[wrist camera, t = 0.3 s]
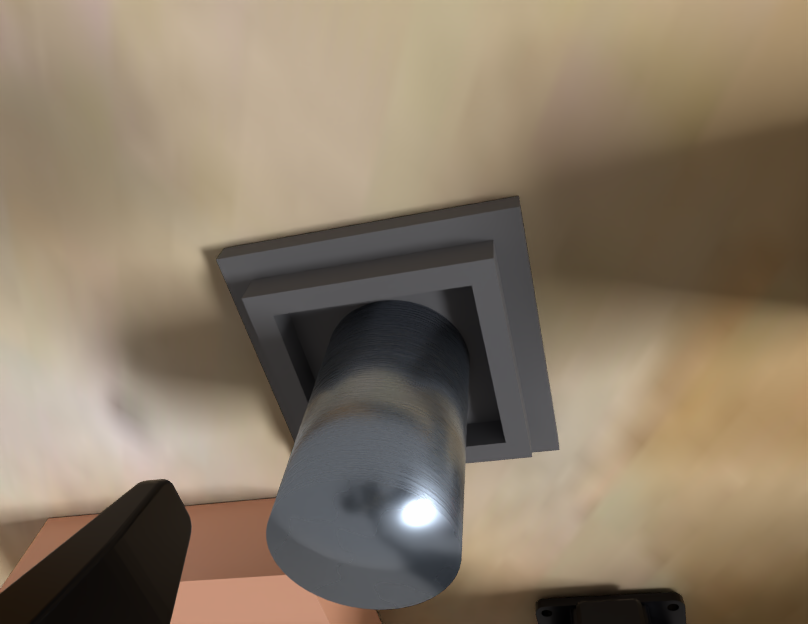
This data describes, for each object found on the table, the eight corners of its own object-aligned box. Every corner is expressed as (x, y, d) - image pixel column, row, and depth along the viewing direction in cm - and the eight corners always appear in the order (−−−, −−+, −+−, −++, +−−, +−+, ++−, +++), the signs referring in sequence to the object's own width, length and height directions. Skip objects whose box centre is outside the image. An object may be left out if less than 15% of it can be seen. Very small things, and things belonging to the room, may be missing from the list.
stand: (557, 435, 26) (562, 473, 24) (313, 459, 28) (301, 496, 27) (518, 195, 21) (521, 224, 19) (224, 248, 23) (203, 277, 21)
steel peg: (481, 406, 25) (478, 605, 18) (350, 421, 26) (301, 613, 19) (453, 289, 22) (438, 470, 15) (310, 311, 23) (237, 489, 17)
